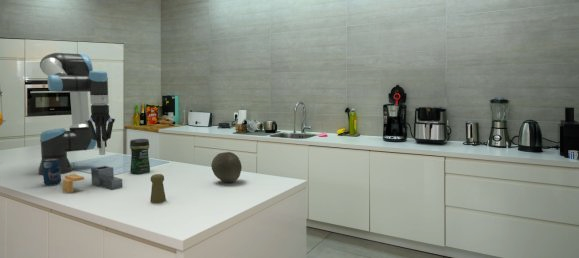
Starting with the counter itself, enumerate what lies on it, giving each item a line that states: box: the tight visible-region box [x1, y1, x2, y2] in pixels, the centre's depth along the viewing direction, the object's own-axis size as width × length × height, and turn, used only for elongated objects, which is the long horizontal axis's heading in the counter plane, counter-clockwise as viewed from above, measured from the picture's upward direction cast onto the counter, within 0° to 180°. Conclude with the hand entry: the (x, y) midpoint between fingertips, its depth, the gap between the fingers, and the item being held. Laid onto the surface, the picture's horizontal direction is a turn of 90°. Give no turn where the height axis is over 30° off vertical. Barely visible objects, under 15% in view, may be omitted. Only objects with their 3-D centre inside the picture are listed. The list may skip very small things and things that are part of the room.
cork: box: [150, 173, 167, 204], centre depth 147 cm, size 6×6×11 cm
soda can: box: [42, 158, 62, 187], centre depth 172 cm, size 7×7×12 cm
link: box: [90, 165, 124, 191], centre depth 170 cm, size 16×7×8 cm, turn 55°
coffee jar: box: [129, 138, 151, 175], centre depth 197 cm, size 10×8×19 cm
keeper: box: [61, 173, 85, 194], centre depth 162 cm, size 9×6×6 cm, turn 55°
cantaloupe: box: [210, 151, 243, 183], centre depth 177 cm, size 14×14×15 cm
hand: (102, 154), depth 171 cm, fingers closed
